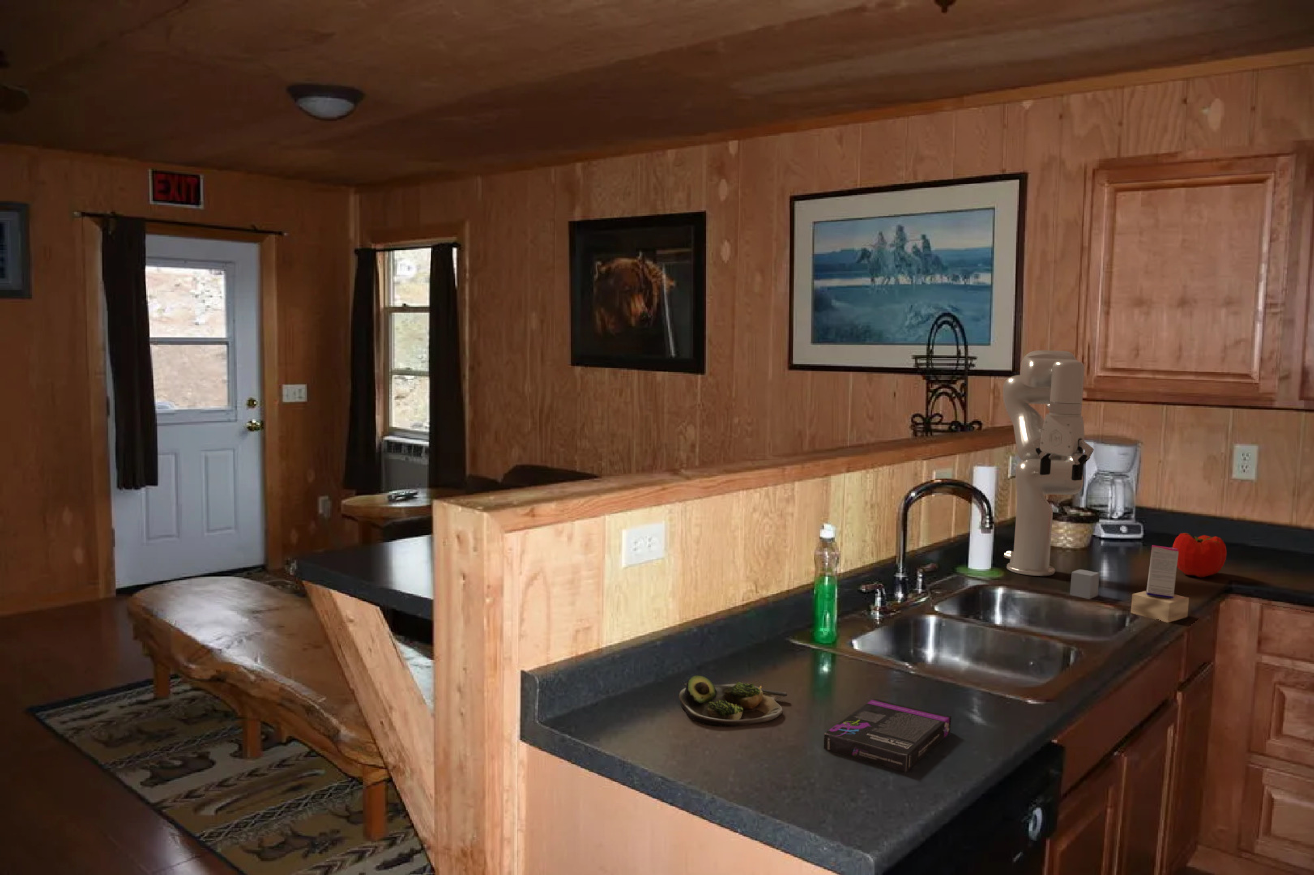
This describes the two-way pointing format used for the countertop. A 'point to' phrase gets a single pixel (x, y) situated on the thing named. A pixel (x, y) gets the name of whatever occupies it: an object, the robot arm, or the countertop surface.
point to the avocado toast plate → (727, 702)
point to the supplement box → (1162, 571)
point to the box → (888, 734)
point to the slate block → (1084, 584)
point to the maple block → (1159, 606)
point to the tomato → (1200, 554)
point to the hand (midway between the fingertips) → (1060, 477)
